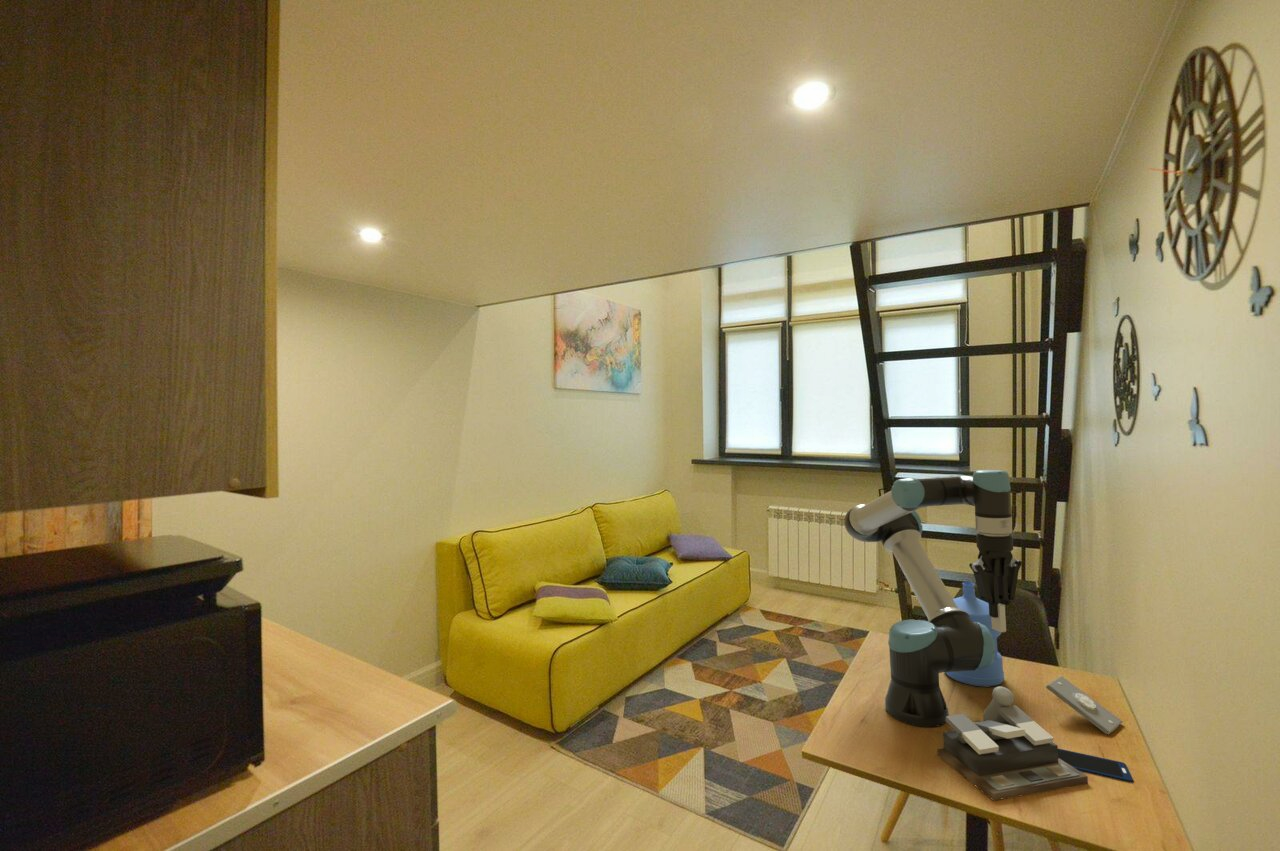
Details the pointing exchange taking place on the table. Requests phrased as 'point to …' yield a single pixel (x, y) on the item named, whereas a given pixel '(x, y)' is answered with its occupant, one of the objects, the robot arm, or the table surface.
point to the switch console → (1011, 766)
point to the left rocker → (971, 734)
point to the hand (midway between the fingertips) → (999, 629)
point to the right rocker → (1025, 725)
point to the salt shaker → (998, 704)
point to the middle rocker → (1000, 730)
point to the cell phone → (1096, 765)
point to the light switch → (1084, 705)
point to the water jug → (980, 614)
